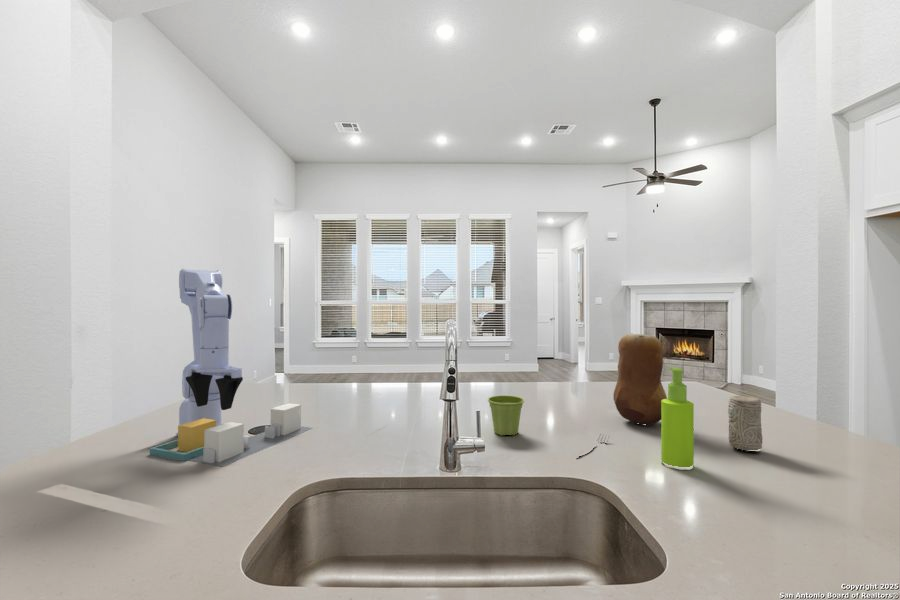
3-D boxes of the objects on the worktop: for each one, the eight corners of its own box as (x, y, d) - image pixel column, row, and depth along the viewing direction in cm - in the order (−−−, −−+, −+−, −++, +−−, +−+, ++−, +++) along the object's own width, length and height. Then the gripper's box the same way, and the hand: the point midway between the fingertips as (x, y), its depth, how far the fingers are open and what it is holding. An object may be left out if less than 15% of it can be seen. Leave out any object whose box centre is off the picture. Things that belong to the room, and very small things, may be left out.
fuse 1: (204, 459, 86) (204, 429, 86) (229, 449, 91) (229, 421, 91) (219, 462, 84) (219, 431, 84) (243, 452, 90) (243, 423, 90)
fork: (570, 459, 92) (570, 450, 92) (599, 441, 104) (599, 433, 104) (581, 462, 90) (581, 452, 90) (610, 443, 102) (610, 435, 102)
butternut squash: (670, 421, 120) (670, 333, 120) (664, 433, 109) (665, 336, 109) (618, 414, 127) (618, 331, 127) (608, 425, 116) (608, 333, 116)
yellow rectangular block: (177, 453, 91) (178, 425, 91) (202, 444, 96) (203, 418, 96) (191, 455, 89) (191, 427, 89) (216, 446, 95) (216, 420, 95)
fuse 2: (270, 433, 102) (270, 408, 102) (288, 426, 108) (288, 403, 108) (283, 435, 101) (284, 410, 101) (300, 428, 107) (300, 404, 107)
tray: (149, 461, 88) (149, 448, 88) (208, 441, 101) (209, 429, 101) (184, 468, 85) (184, 454, 85) (240, 446, 98) (241, 434, 98)
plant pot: (482, 436, 106) (482, 401, 106) (493, 425, 115) (493, 393, 115) (519, 440, 103) (519, 404, 103) (527, 429, 111) (527, 396, 111)
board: (188, 467, 85) (188, 448, 85) (284, 429, 110) (284, 414, 110) (222, 474, 82) (222, 453, 82) (312, 433, 107) (312, 418, 107)
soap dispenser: (689, 460, 90) (689, 366, 90) (696, 472, 84) (696, 371, 84) (658, 456, 92) (658, 364, 92) (663, 468, 86) (663, 369, 86)
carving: (764, 449, 97) (764, 397, 97) (759, 458, 92) (759, 402, 92) (731, 443, 102) (731, 393, 102) (725, 451, 96) (725, 398, 96)
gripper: (175, 347, 95) (174, 408, 95) (222, 351, 90) (222, 414, 90) (203, 344, 102) (203, 401, 102) (249, 347, 97) (249, 407, 97)
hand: (214, 407), depth 96 cm, fingers open, 7 cm apart
